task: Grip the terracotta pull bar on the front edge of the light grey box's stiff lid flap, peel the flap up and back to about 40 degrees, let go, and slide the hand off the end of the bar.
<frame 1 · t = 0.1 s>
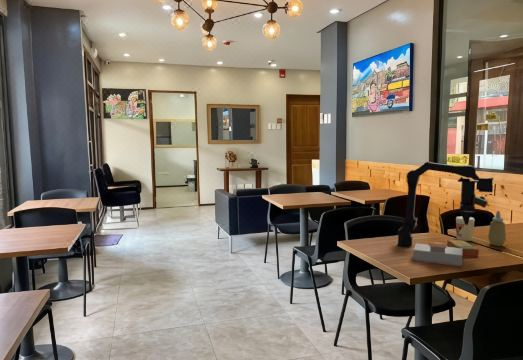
hand: (466, 222, 190), 15 cm above the table, tool pointing down, fingers open, 9 cm apart
box: (437, 259, 180), on the table
carton: (462, 252, 192), on the table
flap: (438, 245, 179), point 7 cm above the table, hinge at 0.0°
squeeze bottle: (496, 245, 204), on the table
coffee cup: (464, 239, 216), on the table
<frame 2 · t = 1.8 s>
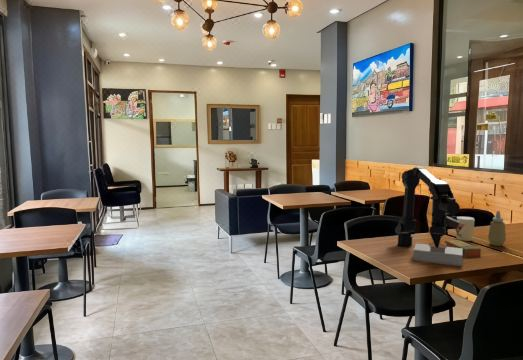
hand: (437, 244, 175), 8 cm above the table, tool pointing down, fingers open, 9 cm apart
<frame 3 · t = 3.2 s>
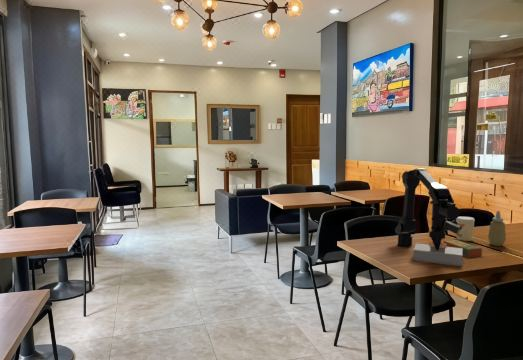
hand: (437, 249, 175), 6 cm above the table, tool pointing down, fingers closed on flap, 2 cm apart
flap: (438, 245, 179), point 7 cm above the table, hinge at 0.0°, touching gripper
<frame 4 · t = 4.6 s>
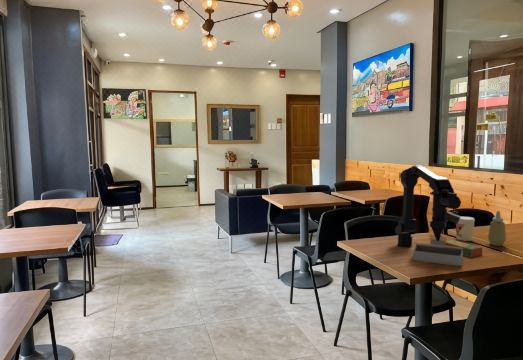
hand: (438, 239, 176), 10 cm above the table, tool pointing down, fingers open, 3 cm apart
flap: (438, 241, 180), point 8 cm above the table, hinge at 15.8°, touching gripper
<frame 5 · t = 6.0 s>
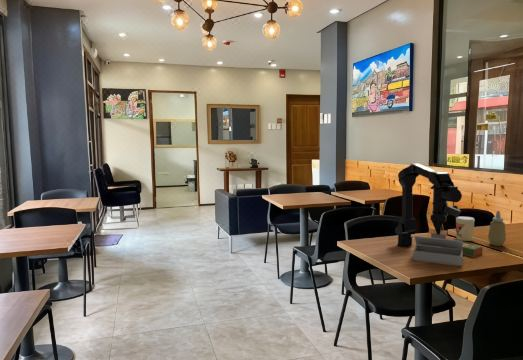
hand: (438, 233, 177), 12 cm above the table, tool pointing down, fingers open, 3 cm apart
flap: (438, 238, 181), point 10 cm above the table, hinge at 30.5°, touching gripper
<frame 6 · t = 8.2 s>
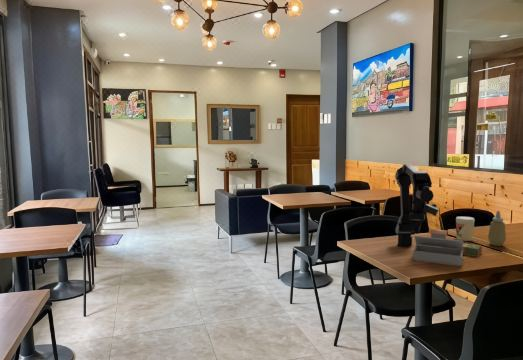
hand: (417, 231, 183), 12 cm above the table, tool pointing down, fingers open, 9 cm apart
flap: (438, 238, 181), point 10 cm above the table, hinge at 30.8°
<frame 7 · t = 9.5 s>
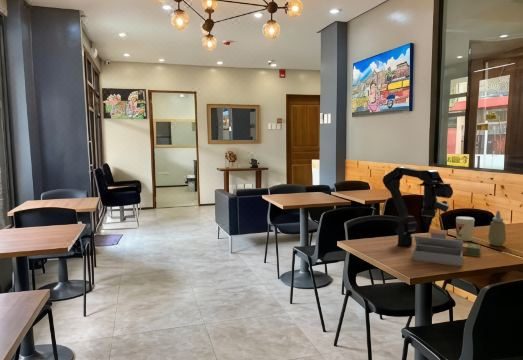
hand: (428, 227, 191), 13 cm above the table, tool pointing down, fingers open, 9 cm apart
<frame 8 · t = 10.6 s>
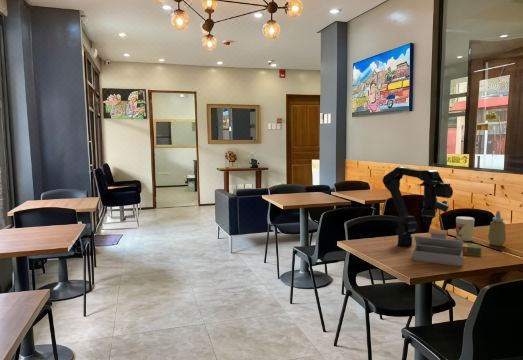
hand: (428, 227, 191), 13 cm above the table, tool pointing down, fingers open, 9 cm apart
at the end: flap at +31° (first picture: +0°); the gripper is holding nothing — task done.
